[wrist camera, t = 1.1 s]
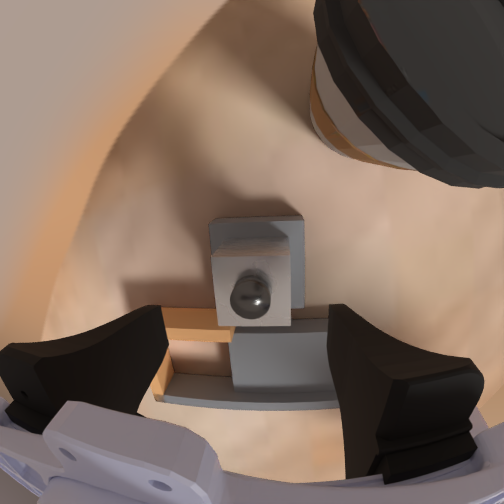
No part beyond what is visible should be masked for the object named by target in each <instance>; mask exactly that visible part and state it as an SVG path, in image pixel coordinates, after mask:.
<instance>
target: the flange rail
mask: <svg viewBox="0 0 504 504" xmlns="http://www.w3.org/2000/svg"><path fill="white" fill-rule="evenodd" d="M161 309H162V314H163V319H164V324H165V328H166V333H167V337H168V339H170V340H185V341H204V342H228V345H229V353H230V361H231V369H232V377H223V376H206V375H193V374H182V373H174V369H173V365H172V361H171V357H170V353H169V349H167V352H166V355H165V357H164V360H163V362H162V364H161V366H160V368H159V370H158V371H157V373H156V375H155V377H154V379H153V380H152V382H151V384H150V386H151V389H152V392H153V395H154V398H155V400H156V401H158V402H164V403H171V404H179V405H187V406H196V407H206V408H217V409H232V410H256V411H295V410H319V409H334V408H340V406H339V402H338V398H337V394H336V390H335V387H334V383H333V379H332V375H331V372H330V368H329V363H328V355H327V347H326V344H327V331H328V318H322V319H293V320H291V326H218V318H217V310H216V309H208V308H169V307H161Z"/></svg>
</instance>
